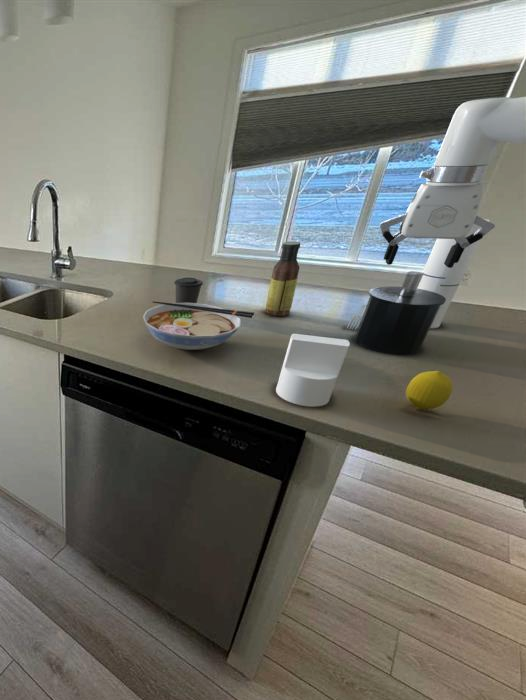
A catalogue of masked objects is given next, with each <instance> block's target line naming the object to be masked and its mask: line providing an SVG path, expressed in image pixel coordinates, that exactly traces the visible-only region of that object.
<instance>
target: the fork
mask: <svg viewBox="0 0 526 700" xmlns="http://www.w3.org/2000/svg"><path fill="white" fill-rule="evenodd" d="M366 306H367V304H366V305H365V306H364V308H363V311H361V314H356V313H354V314H352V316H351V317H350V319H349V321H348V325H347V326H346V329H349V330H350V329H351V330H354V331H357V329H358V328H359V325H360V322H361V319H362V317H363V314H364V311H365V309H366Z"/></svg>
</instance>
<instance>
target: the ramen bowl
mask: <svg viewBox="0 0 526 700" xmlns="http://www.w3.org/2000/svg"><path fill="white" fill-rule="evenodd" d="M151 303H152V304H158V305H156V306H154V307H151V308H149V309H147V310H146V311H145V312H144V314H143V315H142V319H143V320H144V323H145V326H146V328H147V330H148V331H149V333H150V334H151V335H152V336H153V338H154V339H156V340H157V341H159V342H161V343H163V344H164V345H166V346H169V347H172V348H176V349H179V350H183V351H194V350H204V349H209V348H214V347H216V346H218V345H220V344H221V343H223V342H225V341H226V340H227V339H229V338H230V337H232V335H234V334H235V333H236V332H237V331H238V330H239V328H240V327H241V322H242V318H248V319H252V318H253V316H255V312H253V311H244V310H235V309H226V308H224V307H220V306H216V305H212V304H206V303H198V302H197V303H176V302H172V303H171V302H163V301H162V302H161V301H154V300H153V301H152V302H151ZM240 317H242V318H240Z"/></svg>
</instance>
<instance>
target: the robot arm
mask: <svg viewBox="0 0 526 700" xmlns="http://www.w3.org/2000/svg"><path fill="white" fill-rule="evenodd" d="M445 133H446V134H445V135H444V137H443V140H442V144H441V146H440V148H439V151H438V153H437V155H436V158H435V161H434V162H433V165H432V166H431V167H430V168H428V169H422V170H421V172H420V174H419V179H423V178H424V179H426V182H425V183H421V184H420V186H419V188H418V190H417V191H416V193H415V194H414V196H413V198H412V199H411V202H410V203H409V206H408V208H407V209H406V212H405V213H403V214H400V215H398V216H394V217H392V218H389V219H387V220H384V221H381V222H380V223H379V228H380V233H381V235H382V237H383V239H385V240H386V242H388V245H387V248H386V251H385V253H384V256H383V260H385V263H386V265H389V266H390V265H393V263H394V260H395V258H396V255H397V253H398V250H399V248H400V246H399V244H400V243H401V242H403V241H404V240H405V239H407V238H409V239H454V240H455V241H456V244H455V245H453V246H452V247H451V249H450V251H449V253H448V256H447V258H446V260H445V262H444V264H445V265H446V266H447V267H448V268H452V267H453V265H454V263H457V262H458V261H459V259H460V257H461V255H462V253H463V251H464V249H465V248H467V247H468V246H469V245H471V244H472V243H474V242H476V241H478V240H480V239H481V240H482V239H483V237H484V236H486V235H487V234H488V233H490V232H491V231H492V230H493V229H494V228H496V224H494V223H492V222H491V221H489V222H488V221H486V220H484V219H485V218H482V217H480V216H478V212H479V211H480V206H481V204H482V200H483V198H484V195H485V190H486V183H485V182H482V179H483V177H484V175H485V173H486V171H487V168H488V166H489V164H490V162H491V160H492V158H493V155H494V154H495V151H496V149H497V147H498V144H499V143H519V144H526V96H521V97H520V96H519V97H509V96H506V97H505V96H504V97H503V96H502V97H489V98H480V99H473V100H468V101H465V102H463V103H461V104H460V105H459V106H458V107H457V108H456V109H455V112H454V114H453V115H452V118H451V121H450V123H449V126H448V128H447V131H446V132H445ZM473 223H474V224H476V225H478V226H480V229H479V230H478V231H477V232H476V233H473V234H472V235H470V236H468V237H465V236H467V235H468V233H469V232H470V230H471V228H472V225H473ZM398 224H400V225H399V231H397V232H396V233H395V234H392V233H391V231H390V228H391V227H392V226H395V225H398ZM481 240H480V241H481Z"/></svg>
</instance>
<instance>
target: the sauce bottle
mask: <svg viewBox="0 0 526 700" xmlns="http://www.w3.org/2000/svg"><path fill="white" fill-rule="evenodd" d="M300 248H301V242H300V241H294V240H289V241H283V242H282V245H281V253H280V257H279V260H278V261H277V262H276V264H275V265H274V266H273V268H272V269H273V270H272V274H271V278H270V281H269V288H268V292H267V298H266V304H265V313H266V314H267V315H270V316H274V317H285V316H288V315H289V314H290V312H291V309H292V305H293V302H294V297H295V292H296V289H297V283H298V279H299V278H298V277H299V271H300V265H299V263H298V254H299V250H300Z"/></svg>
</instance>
